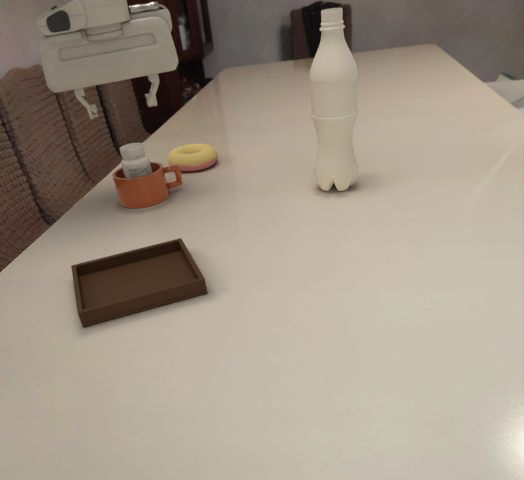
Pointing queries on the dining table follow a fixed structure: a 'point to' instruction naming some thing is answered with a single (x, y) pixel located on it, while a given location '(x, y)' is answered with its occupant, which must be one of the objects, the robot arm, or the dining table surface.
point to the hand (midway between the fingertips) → (123, 111)
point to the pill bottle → (135, 161)
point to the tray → (135, 281)
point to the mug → (145, 186)
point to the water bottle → (334, 104)
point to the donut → (193, 157)
